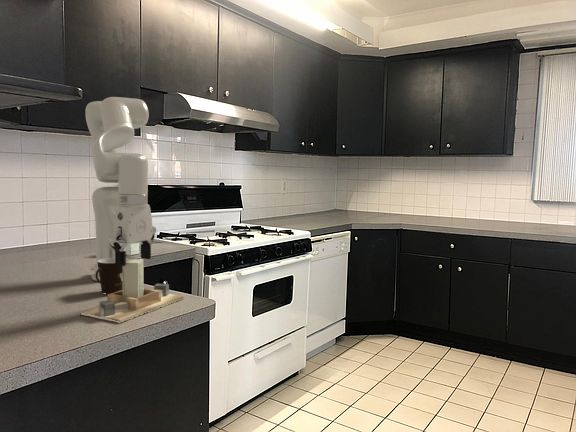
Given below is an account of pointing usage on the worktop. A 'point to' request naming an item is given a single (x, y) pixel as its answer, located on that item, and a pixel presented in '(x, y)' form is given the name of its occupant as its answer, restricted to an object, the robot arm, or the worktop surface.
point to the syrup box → (132, 249)
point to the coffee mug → (110, 275)
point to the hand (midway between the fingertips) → (133, 261)
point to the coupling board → (133, 303)
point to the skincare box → (133, 278)
